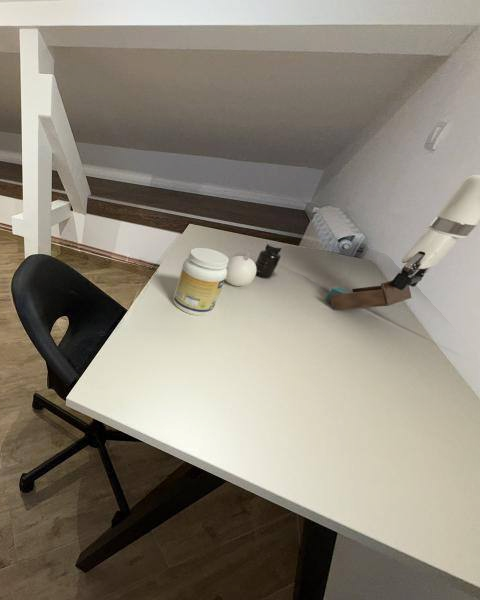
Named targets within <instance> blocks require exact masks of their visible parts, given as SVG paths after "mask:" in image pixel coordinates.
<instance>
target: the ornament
mask: <svg viewBox="0 0 480 600" xmlns="http://www.w3.org/2000/svg"><path fill="white" fill-rule="evenodd" d="M250 255H251V253H249V252H247V253H246V255H234V256H232V257H230V258H228V259H229V261H228V265H227V267H226V269H227V276H226V278H225V281H226V282H227V283H228V284H229V285H232V286H235V287H243V286H247V285H249V284H250V283H251V282H253V280H254V279H255V277H256V270H257V269H256V265H255V263H256V262H255V261H254V260H253V259H252V258H250Z"/></svg>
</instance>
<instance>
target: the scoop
mask: <svg viewBox="0 0 480 600" xmlns="http://www.w3.org/2000/svg"><path fill="white" fill-rule="evenodd" d="M411 278H413V279H412V280H411V281H410V282H409V284H413V283H416V282H418V283H419V282H421V281H422V280H423V277H421V276H420V275H414V276H413V277H411ZM391 282H392V280H388V281H385V282H381V283H380V285H374V286H372V285H371V286H363V287H356V288H352V291H351V292H353V293H344V294H334V295H329V296H330V300H331V302H330V304H331V309H332V310H346V309H347V310H348V309H363V308H377V307H380V308H381V307H389V306H392V305H396V304H399V303H401V302H403V301H406V300H410V299H412V294H411V290H410V285H409V284H408V285H407V286H406V287H405V288H404V289H403V290H399V289H397V288H395V287H393V286H391V285H390V283H391Z"/></svg>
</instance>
